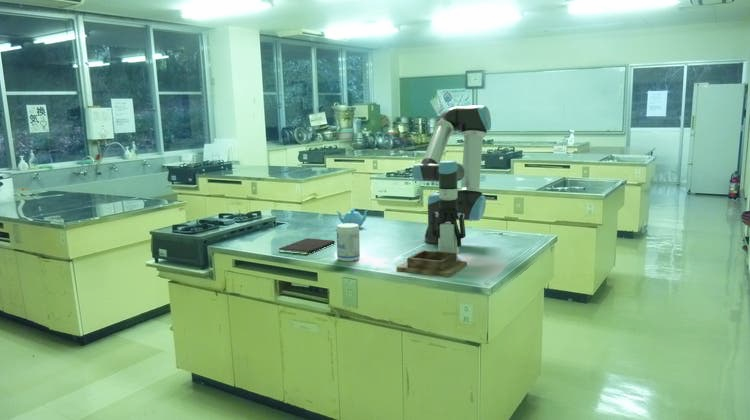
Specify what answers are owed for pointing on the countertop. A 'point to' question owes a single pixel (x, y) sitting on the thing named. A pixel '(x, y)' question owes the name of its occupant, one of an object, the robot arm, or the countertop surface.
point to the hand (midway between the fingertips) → (448, 253)
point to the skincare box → (447, 237)
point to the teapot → (353, 217)
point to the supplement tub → (348, 242)
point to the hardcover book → (307, 245)
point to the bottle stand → (433, 263)
